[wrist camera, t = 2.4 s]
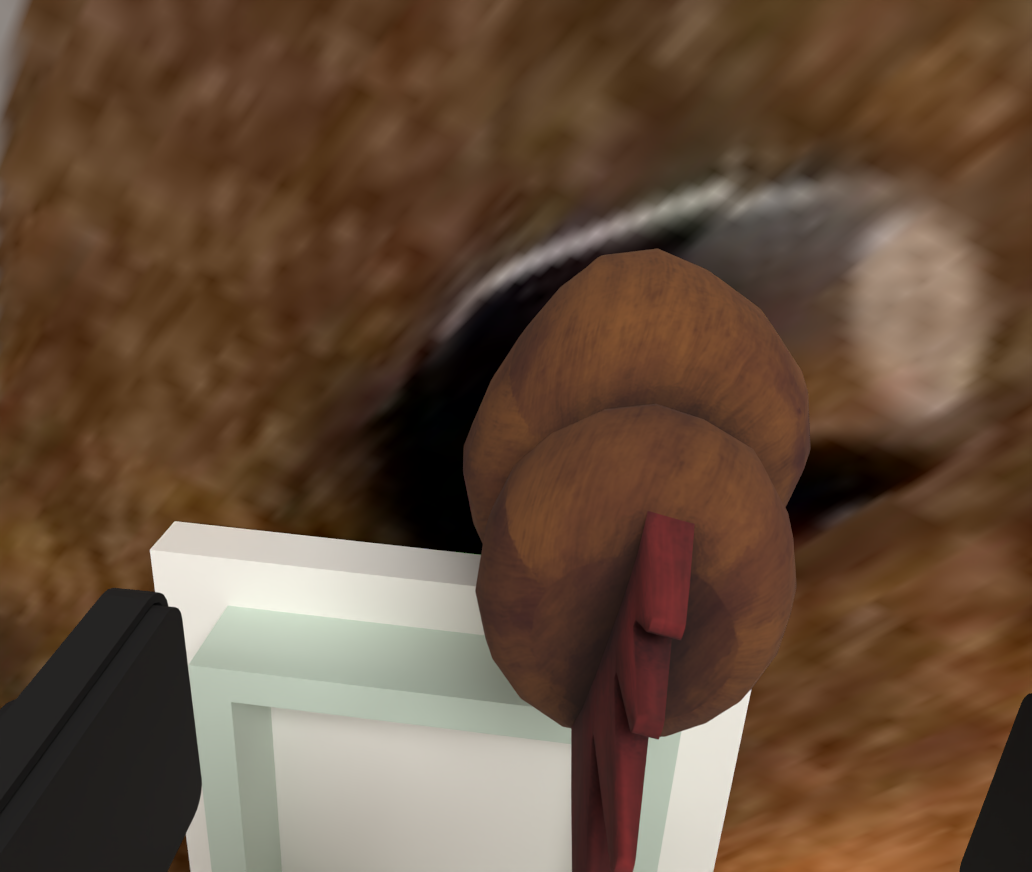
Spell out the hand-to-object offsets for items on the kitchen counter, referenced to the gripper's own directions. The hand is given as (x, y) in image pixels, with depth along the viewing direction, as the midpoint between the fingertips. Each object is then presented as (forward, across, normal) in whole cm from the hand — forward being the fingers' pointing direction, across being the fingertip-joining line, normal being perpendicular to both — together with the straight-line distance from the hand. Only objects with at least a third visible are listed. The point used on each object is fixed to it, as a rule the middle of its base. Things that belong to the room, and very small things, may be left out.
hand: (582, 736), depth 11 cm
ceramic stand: (+13, +3, +14) cm, 20 cm away
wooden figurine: (+14, -1, 0) cm, 14 cm away
